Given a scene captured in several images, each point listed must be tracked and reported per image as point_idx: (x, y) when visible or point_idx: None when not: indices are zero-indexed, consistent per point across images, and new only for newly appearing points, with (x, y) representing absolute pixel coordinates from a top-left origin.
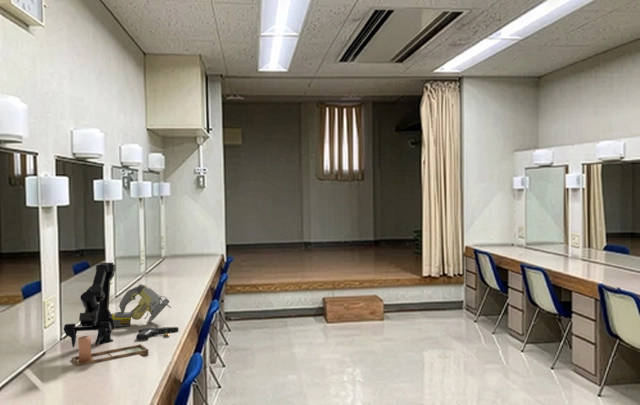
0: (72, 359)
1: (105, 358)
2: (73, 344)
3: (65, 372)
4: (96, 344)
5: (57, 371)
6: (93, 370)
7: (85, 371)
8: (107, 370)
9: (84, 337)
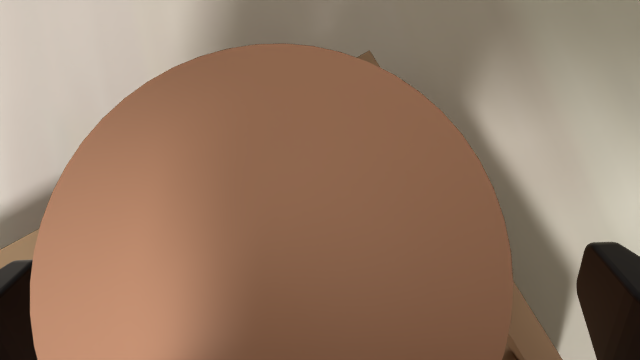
0: (535, 323)
1: (24, 239)
2: (611, 263)
3: (478, 17)
4: (13, 265)
5: (598, 65)
6: (169, 36)
7: (251, 17)
8: (18, 14)
9: (271, 275)
